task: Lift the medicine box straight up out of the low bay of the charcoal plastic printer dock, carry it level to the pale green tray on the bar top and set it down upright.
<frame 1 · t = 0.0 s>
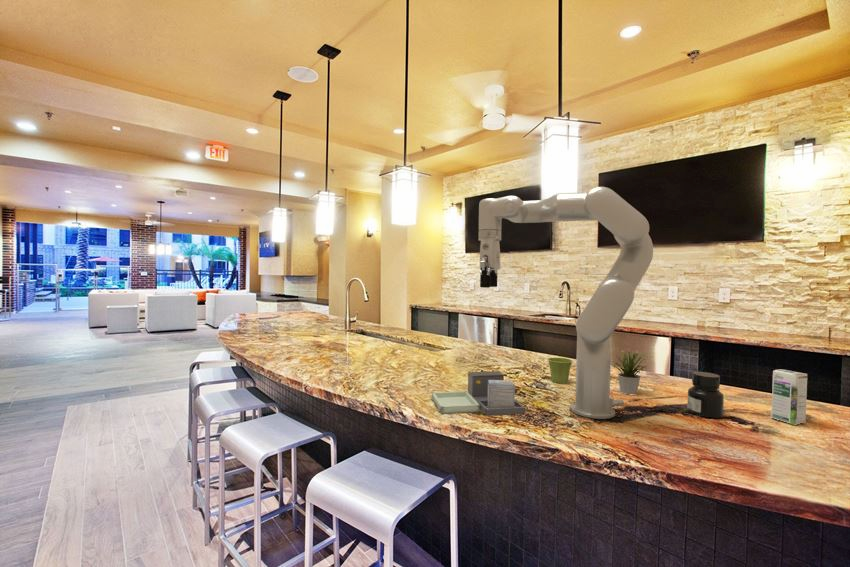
hand: (488, 287, 130), 37 cm above the counter, tool pointing down, fingers open, 9 cm apart
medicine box: (500, 410, 119), resting in printer dock
printer dock: (500, 409, 119), on the counter
plant pot: (559, 382, 151), on the counter
ink bottle: (704, 414, 118), on the counter
tray: (454, 405, 122), on the counter
syrup box: (788, 421, 112), on the counter
house plant: (632, 394, 137), on the counter
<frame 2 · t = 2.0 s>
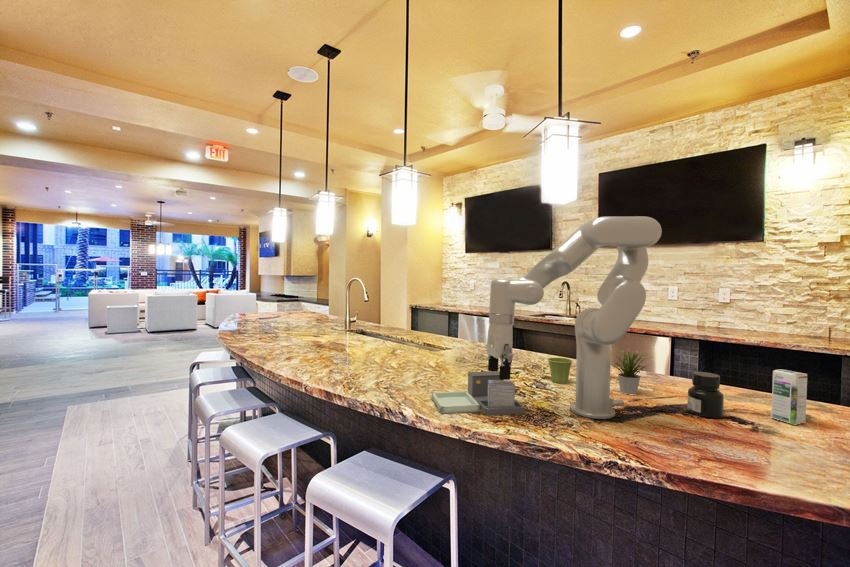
hand: (498, 375, 118), 11 cm above the counter, tool pointing down, fingers open, 9 cm apart
nothing on the counter moved.
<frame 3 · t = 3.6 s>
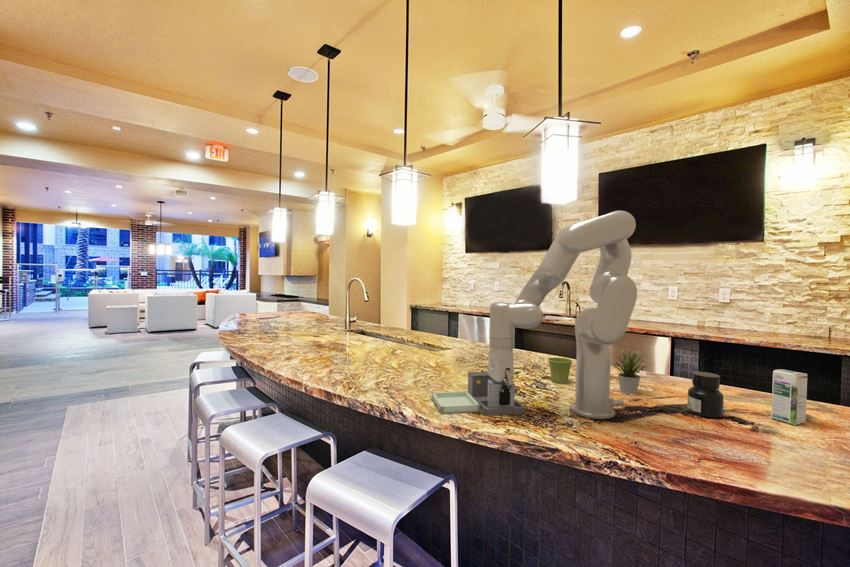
hand: (500, 400, 118), 3 cm above the counter, tool pointing down, fingers closed on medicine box, 5 cm apart
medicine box: (500, 410, 119), resting in printer dock, touching gripper
everything else where it was.
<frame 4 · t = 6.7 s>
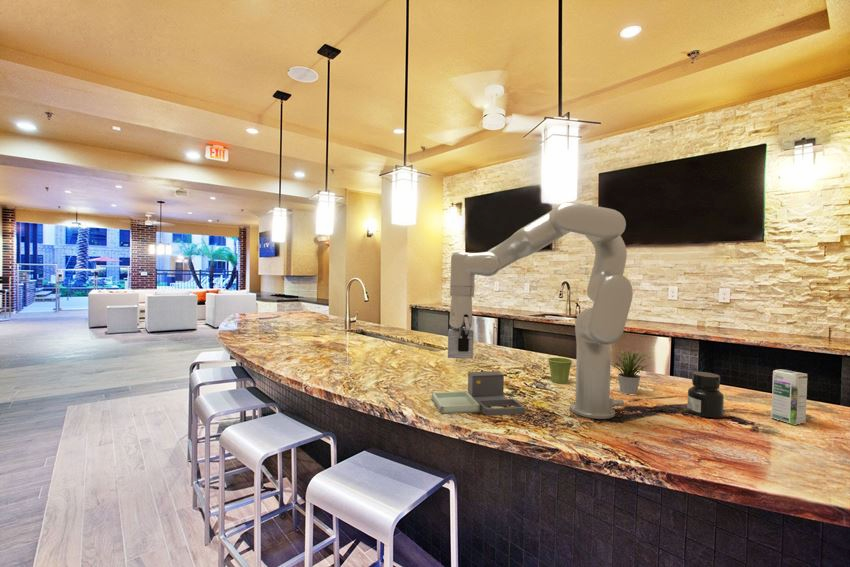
hand: (460, 348, 121), 18 cm above the counter, tool pointing down, fingers closed on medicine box, 5 cm apart
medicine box: (460, 358, 121), point 15 cm above the counter, touching gripper
everything else where it was.
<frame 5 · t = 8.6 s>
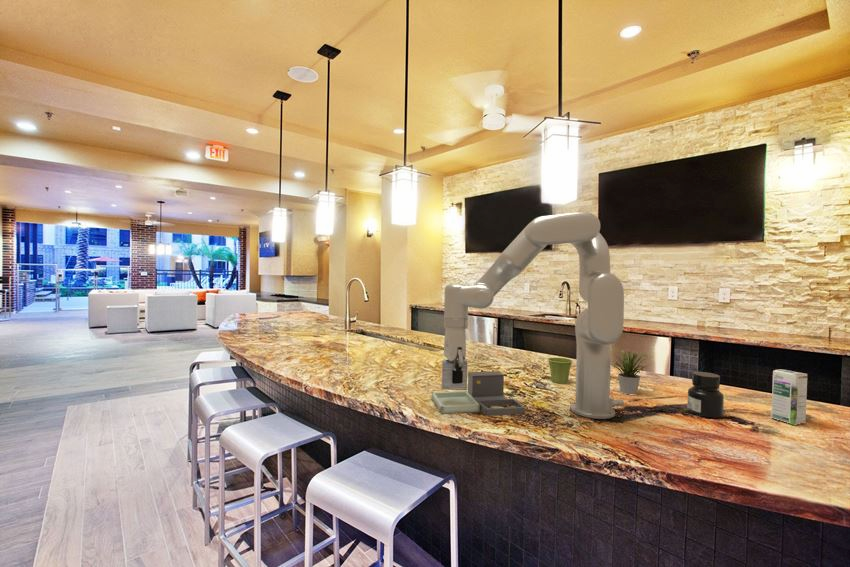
hand: (454, 379, 122), 8 cm above the counter, tool pointing down, fingers closed on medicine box, 5 cm apart
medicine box: (454, 389, 122), point 5 cm above the counter, touching gripper
everything else where it was.
when the fingers open (5 cm above the counter, at t = 10.1 s): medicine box drops 1 cm, resting on tray.
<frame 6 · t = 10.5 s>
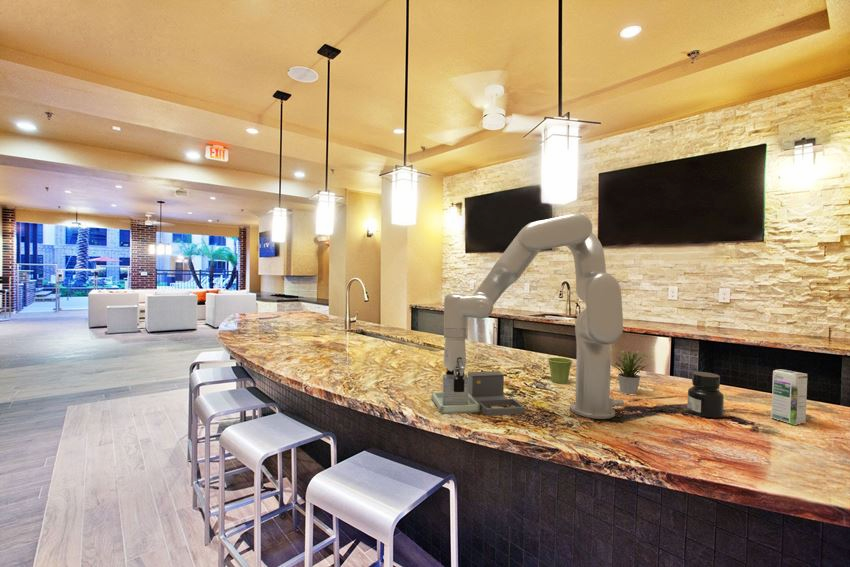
hand: (454, 387, 122), 6 cm above the counter, tool pointing down, fingers open, 9 cm apart
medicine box: (455, 404, 122), resting on tray
everything else where it was.
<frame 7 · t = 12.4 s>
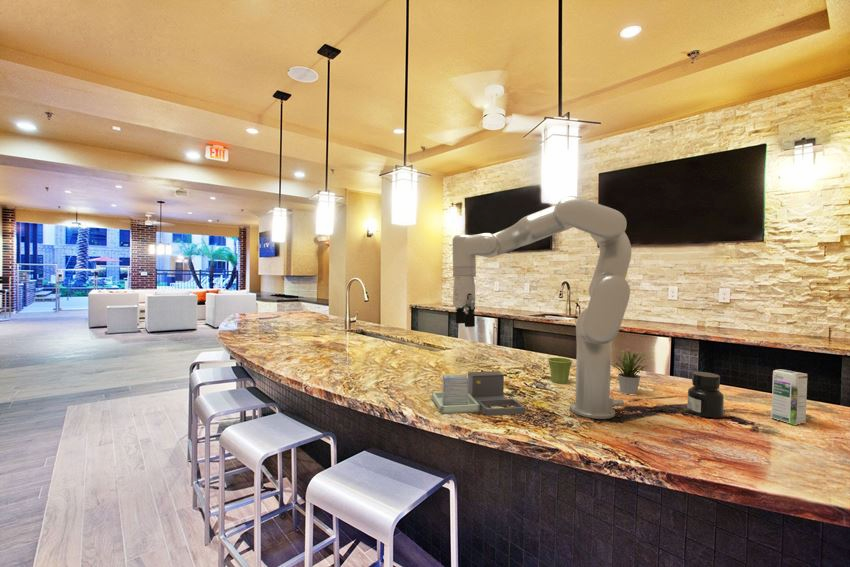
hand: (465, 324, 127), 25 cm above the counter, tool pointing down, fingers open, 9 cm apart
nothing on the counter moved.
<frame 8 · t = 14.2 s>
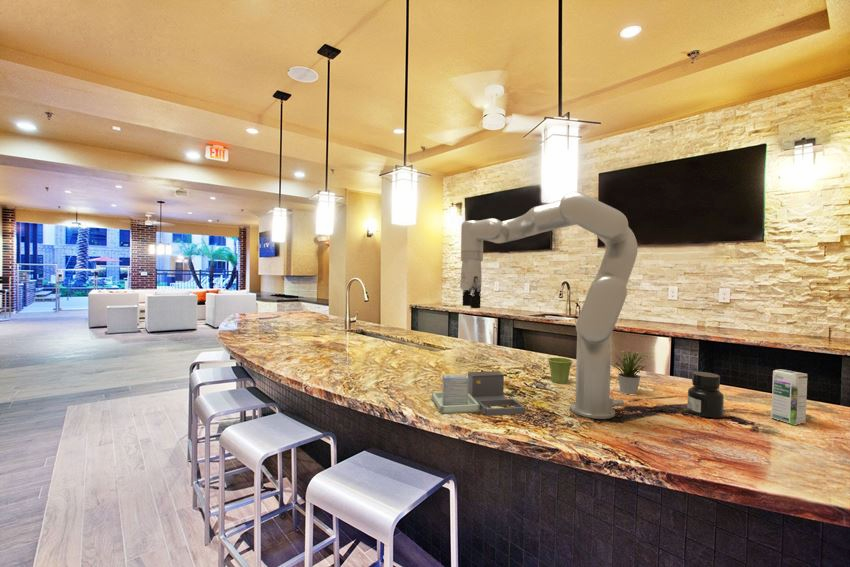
hand: (471, 306, 133), 30 cm above the counter, tool pointing down, fingers open, 9 cm apart
nothing on the counter moved.
at the end: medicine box inside the target area on the tray (0.3 cm from its centre), point 0.4 cm above the tray's base; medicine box tilted 0°; the gripper is holding nothing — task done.
